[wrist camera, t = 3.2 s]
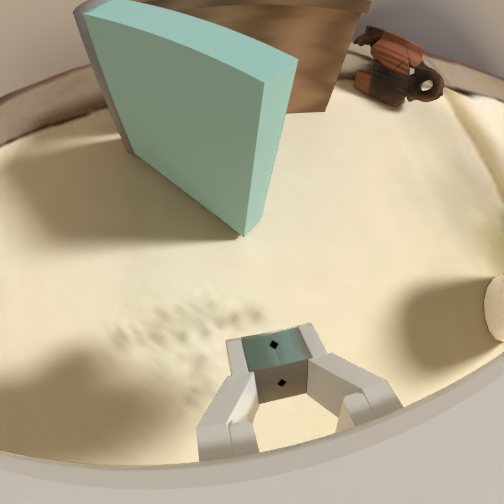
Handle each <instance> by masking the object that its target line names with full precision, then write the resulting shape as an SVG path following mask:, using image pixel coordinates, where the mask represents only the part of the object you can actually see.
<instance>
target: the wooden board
mask: <svg viewBox="0 0 504 504" xmlns="http://www.w3.org/2000/svg"><path fill="white" fill-rule="evenodd" d="M130 1H135V2H140V3H145V4H149V5H153V6H157V7H161V8H165V9H169V10H173V11H176V12H180V13H183V14H187V15H190V16H193V17H196V18H200V19H203V20H206V21H209V22H212V23H214V24H217V25H220V26H223V27H226V28H228V29H231V30H233V31H236V32H239V33H241V34H244V35H246V36H249V37H251V38H253V39H256V40H258V41H260V42H263V43H265V44H267V45H269V46H272V47H274V48H276V49H278V50H280V51H282V52H284V53H286V54H288V55H290V56H293V57H295V58H297V59H298V63H297V68H296V72H295V76H294V81H293V85H292V89H291V93H290V98H289V102H288V106H287V110H286V113H300V112H325V110H326V107H327V104H328V102H329V99H330V97H331V94H332V91H333V89H334V86H335V83H336V80H337V78H338V75H339V72H340V70H341V67H342V64H343V62H344V59H345V56H346V53H347V51H348V48H349V45H350V42H351V40H352V37H353V34H354V31H355V28H356V26H357V23H358V20H359V17H360V15H361V13H366V14H367V13H368V10H369V7H370V4H371V1H370V0H130Z"/></svg>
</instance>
